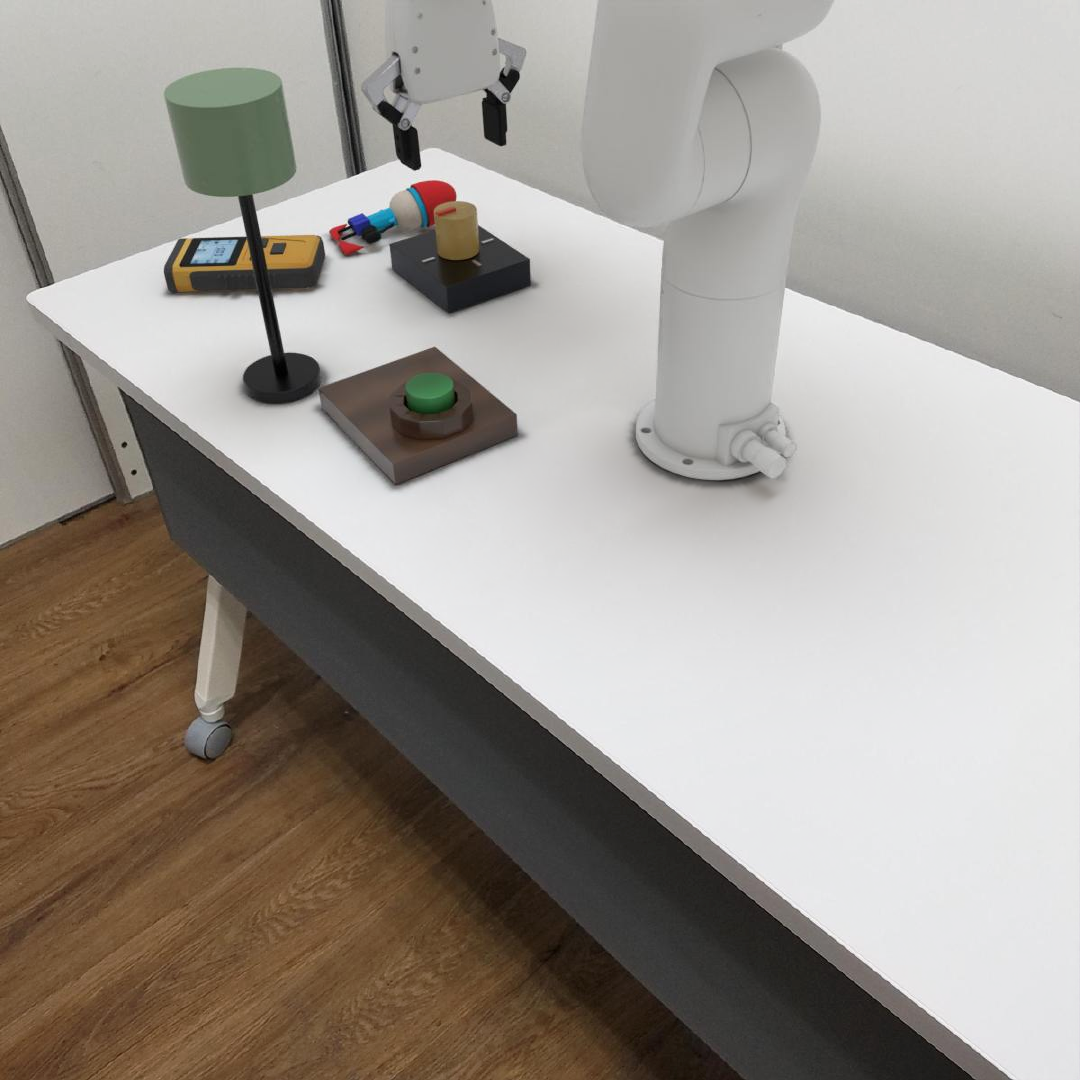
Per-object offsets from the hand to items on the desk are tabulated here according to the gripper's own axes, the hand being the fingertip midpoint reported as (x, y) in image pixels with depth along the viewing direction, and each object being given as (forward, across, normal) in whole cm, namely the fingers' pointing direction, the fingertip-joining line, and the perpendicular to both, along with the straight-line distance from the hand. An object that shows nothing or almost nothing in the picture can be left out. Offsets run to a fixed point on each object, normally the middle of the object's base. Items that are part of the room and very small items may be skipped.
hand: (453, 154), depth 111 cm
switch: (+10, +17, +23) cm, 31 cm away
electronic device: (+13, +18, -15) cm, 27 cm away
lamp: (+14, +24, +7) cm, 29 cm away
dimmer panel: (+14, 0, -1) cm, 14 cm away
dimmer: (+10, 0, -1) cm, 10 cm away
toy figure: (+13, 0, -15) cm, 20 cm away
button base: (+14, +17, +20) cm, 30 cm away
